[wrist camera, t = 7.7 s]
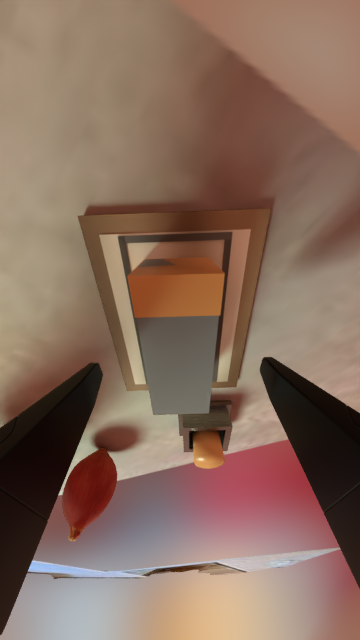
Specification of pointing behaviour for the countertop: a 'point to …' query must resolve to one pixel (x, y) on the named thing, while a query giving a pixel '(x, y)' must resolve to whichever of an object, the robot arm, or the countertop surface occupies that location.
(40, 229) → the countertop surface
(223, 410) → the button collar
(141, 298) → the grey orange block
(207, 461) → the button
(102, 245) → the picture frame
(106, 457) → the onion
